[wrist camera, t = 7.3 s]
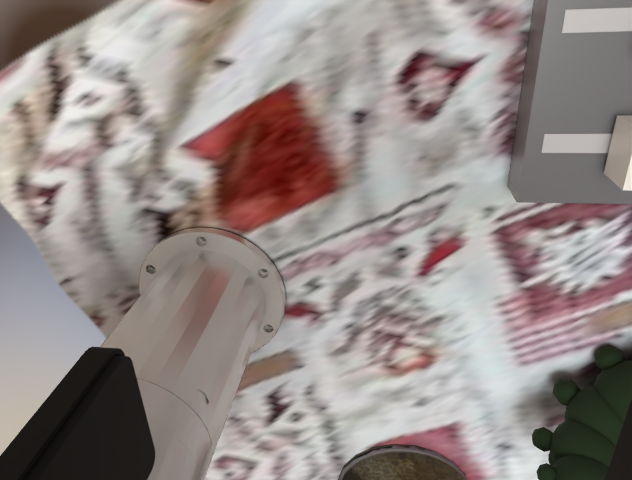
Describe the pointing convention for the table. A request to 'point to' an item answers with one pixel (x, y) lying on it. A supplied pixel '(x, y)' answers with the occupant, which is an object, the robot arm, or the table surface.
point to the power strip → (572, 101)
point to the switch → (621, 153)
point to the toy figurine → (588, 422)
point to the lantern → (400, 465)
